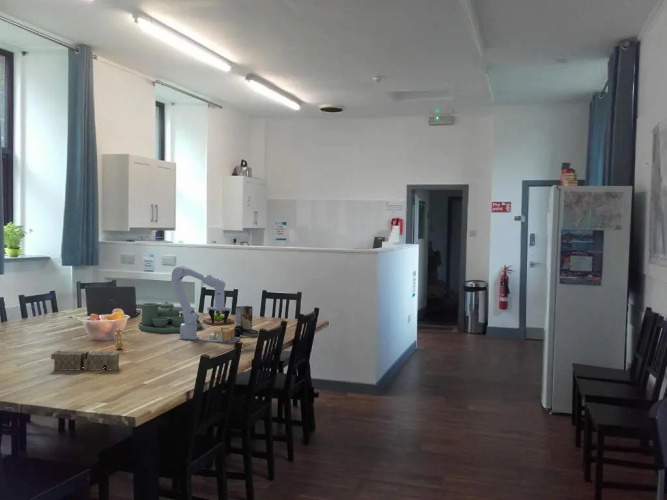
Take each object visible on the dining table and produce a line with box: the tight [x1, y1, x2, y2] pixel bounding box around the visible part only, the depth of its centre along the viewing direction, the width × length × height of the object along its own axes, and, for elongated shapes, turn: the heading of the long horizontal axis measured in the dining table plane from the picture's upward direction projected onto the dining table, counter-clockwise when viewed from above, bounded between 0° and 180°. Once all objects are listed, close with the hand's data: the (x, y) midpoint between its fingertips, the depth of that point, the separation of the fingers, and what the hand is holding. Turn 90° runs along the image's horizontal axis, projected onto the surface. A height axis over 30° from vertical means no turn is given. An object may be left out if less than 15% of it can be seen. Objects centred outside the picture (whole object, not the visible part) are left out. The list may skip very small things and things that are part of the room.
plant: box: [202, 311, 235, 327], centre depth 406 cm, size 20×20×11 cm
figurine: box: [110, 327, 127, 350], centre depth 315 cm, size 8×6×12 cm
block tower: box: [50, 349, 120, 370], centre depth 274 cm, size 8×8×29 cm
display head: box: [203, 329, 241, 344], centre depth 347 cm, size 18×14×5 cm
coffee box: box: [235, 305, 253, 330], centre depth 378 cm, size 9×6×16 cm
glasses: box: [213, 326, 235, 340], centre depth 347 cm, size 8×13×5 cm, turn 173°
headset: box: [229, 318, 259, 338], centre depth 363 cm, size 14×10×20 cm
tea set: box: [137, 301, 202, 334], centre depth 383 cm, size 40×40×16 cm
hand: (219, 322), depth 349 cm, fingers open, 7 cm apart
